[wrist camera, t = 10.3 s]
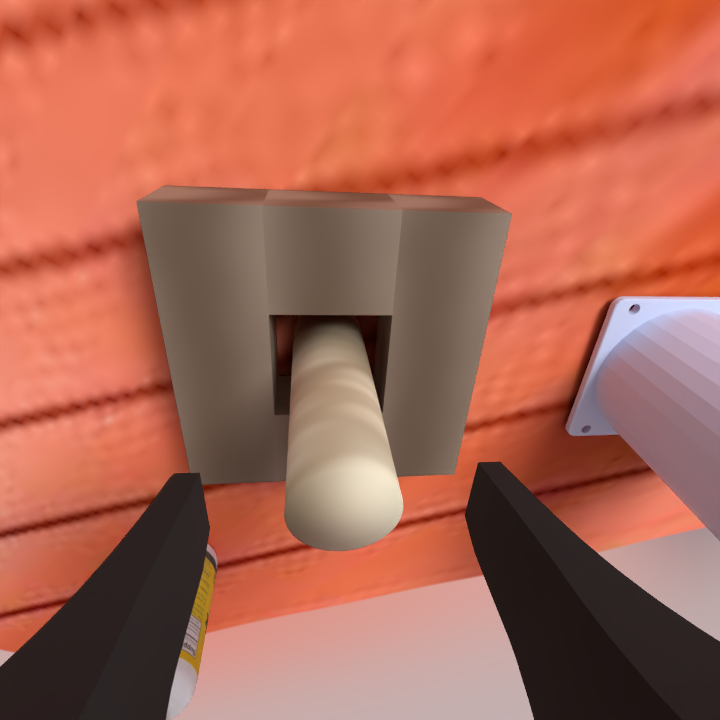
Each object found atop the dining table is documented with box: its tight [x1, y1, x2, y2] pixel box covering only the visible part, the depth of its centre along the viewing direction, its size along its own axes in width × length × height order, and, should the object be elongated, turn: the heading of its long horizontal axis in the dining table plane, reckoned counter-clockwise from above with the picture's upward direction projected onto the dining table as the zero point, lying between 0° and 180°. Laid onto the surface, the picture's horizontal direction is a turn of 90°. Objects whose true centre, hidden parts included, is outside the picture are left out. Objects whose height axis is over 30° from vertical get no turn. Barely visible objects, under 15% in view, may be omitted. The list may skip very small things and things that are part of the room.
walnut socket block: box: [136, 186, 512, 485], centre depth 18 cm, size 12×12×3 cm
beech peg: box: [284, 315, 403, 551], centre depth 15 cm, size 3×3×10 cm
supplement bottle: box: [166, 544, 217, 720], centre depth 22 cm, size 5×5×10 cm
